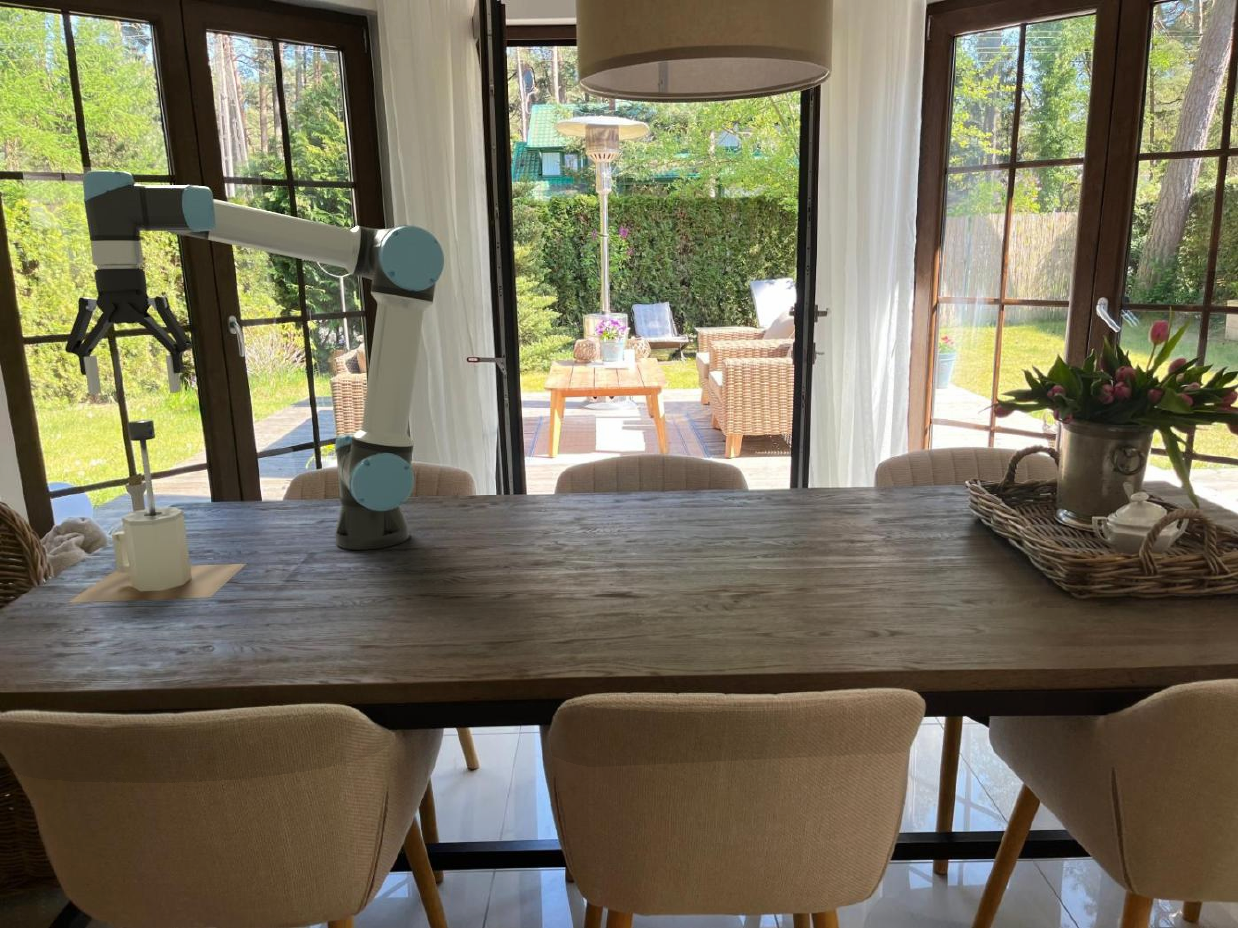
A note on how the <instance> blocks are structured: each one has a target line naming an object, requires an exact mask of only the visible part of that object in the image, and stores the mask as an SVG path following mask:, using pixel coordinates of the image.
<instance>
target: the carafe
mask: <svg viewBox="0 0 1238 928" xmlns="http://www.w3.org/2000/svg"><path fill="white" fill-rule="evenodd" d="M155 510H156V516H150V512H149V508H145V510H140V511H135V512H133V511H131V512H129V513H128V514H126V515H125V516H123V517H121V521H122V527H123V530H121V531H120V530H119V531H116V532H114V533H113V534H112V535H111V536H112V544H113V551H114V558H115V564H116V570H117V572H121V573H128V572H130V577H131V584H132V587H134V588H135V589H137V590H139V591H161V590H166V589H169V588H173V587H177V586H181V585H184V584H185V583H186V582H187V581H188V580H190V579H191V578H192V575H191V567H190V566H191V561H190V553H189V545H188V537H187V530H186V522H185V513H184V509H180V508H177V507H175V506H172V507H171V506H170V507H168V506H167V507H166V506H165V507H155Z"/></svg>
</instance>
